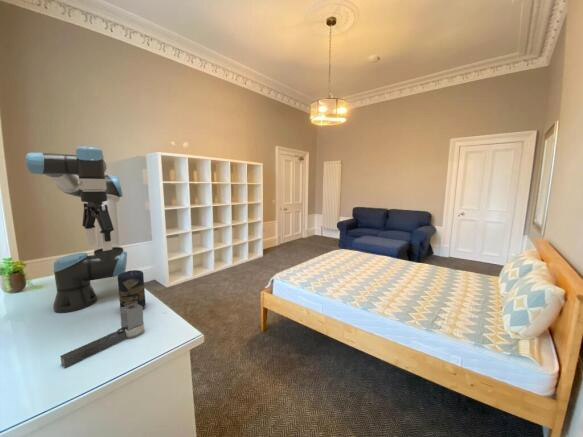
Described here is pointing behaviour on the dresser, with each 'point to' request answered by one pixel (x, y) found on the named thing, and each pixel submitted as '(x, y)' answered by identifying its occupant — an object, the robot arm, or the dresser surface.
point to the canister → (131, 288)
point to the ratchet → (100, 345)
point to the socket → (131, 316)
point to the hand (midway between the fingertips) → (99, 247)
